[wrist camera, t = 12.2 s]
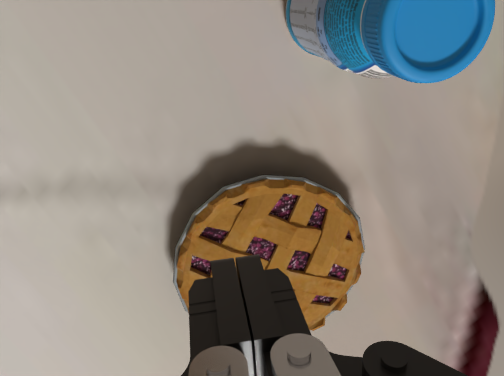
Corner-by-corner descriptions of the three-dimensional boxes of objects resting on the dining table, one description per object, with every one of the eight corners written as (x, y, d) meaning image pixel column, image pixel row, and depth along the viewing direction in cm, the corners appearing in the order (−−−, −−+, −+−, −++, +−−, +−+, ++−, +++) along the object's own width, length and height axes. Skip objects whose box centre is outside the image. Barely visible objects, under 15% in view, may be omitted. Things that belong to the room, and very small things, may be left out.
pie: (382, 188, 50) (402, 207, 46) (317, 333, 58) (328, 361, 53) (200, 143, 45) (202, 159, 40) (154, 310, 52) (152, 339, 48)
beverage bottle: (264, 13, 40) (333, 26, 22) (328, -61, 39) (459, -111, 21) (323, 74, 44) (425, 129, 26) (384, 9, 42) (540, 18, 24)
